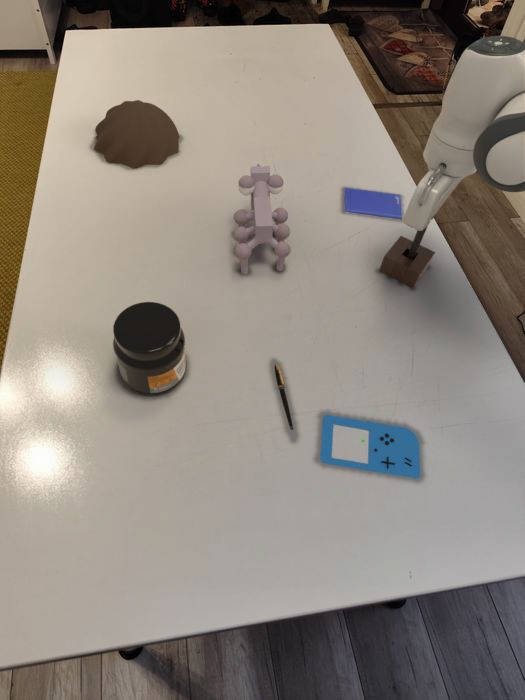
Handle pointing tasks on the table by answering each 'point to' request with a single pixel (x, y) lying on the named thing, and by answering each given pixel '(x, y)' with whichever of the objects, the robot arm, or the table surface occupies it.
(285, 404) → the fountain pen
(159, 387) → the supplement container
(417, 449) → the handheld gaming device
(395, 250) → the holder
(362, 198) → the hard drive
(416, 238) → the stylus
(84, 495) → the table surface
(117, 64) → the table surface
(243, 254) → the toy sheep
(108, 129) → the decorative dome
